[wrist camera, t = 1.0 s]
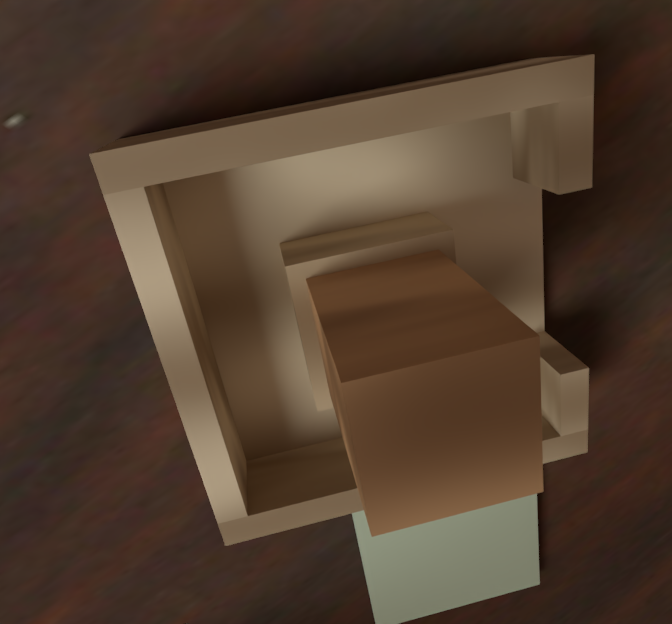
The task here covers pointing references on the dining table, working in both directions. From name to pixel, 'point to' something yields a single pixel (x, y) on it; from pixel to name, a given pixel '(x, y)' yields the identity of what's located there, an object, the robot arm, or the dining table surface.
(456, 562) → the pad
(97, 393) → the dining table surface
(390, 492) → the teak block
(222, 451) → the access box
